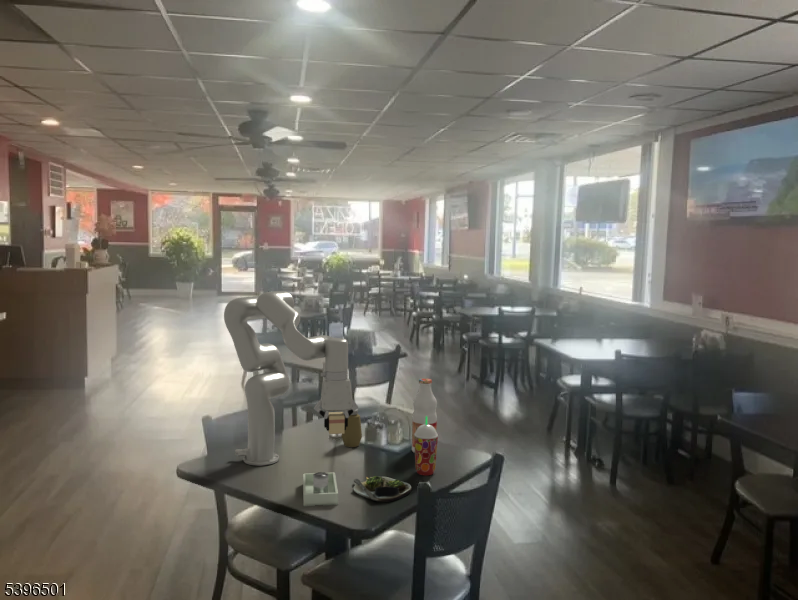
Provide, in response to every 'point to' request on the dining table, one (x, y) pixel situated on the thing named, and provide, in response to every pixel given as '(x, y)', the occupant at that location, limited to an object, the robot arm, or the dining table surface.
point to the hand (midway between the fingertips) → (336, 428)
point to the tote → (319, 498)
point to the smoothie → (425, 449)
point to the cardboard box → (336, 422)
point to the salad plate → (382, 489)
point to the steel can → (320, 482)
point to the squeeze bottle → (353, 430)
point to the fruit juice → (424, 408)
